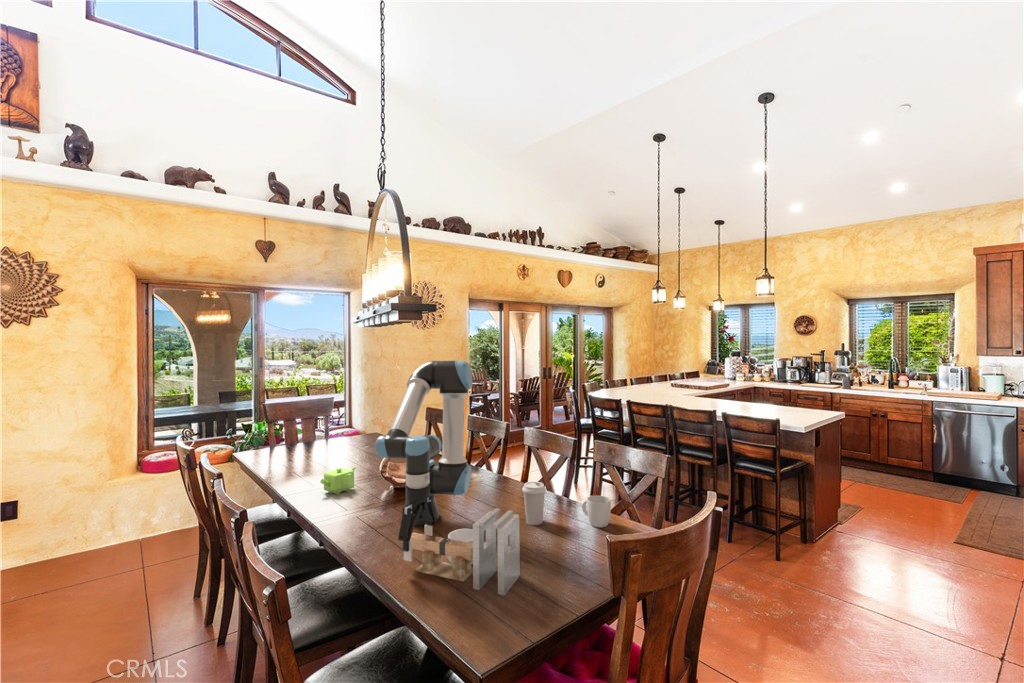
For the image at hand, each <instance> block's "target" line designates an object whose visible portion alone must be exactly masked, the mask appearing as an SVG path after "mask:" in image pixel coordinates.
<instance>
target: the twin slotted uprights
mask: <svg viewBox="0 0 1024 683" xmlns="http://www.w3.org/2000/svg"><path fill="white" fill-rule="evenodd" d="M500 513H501V508H498V507H495V508H494V509H493V510H489V511H488V512H486V513H485V514H484V515H483V516H482V517H480V518H479V519H478V520H476V521H475V522H474V523H473V524H472V529H473V564H472V568H473V573H472V585H473V586H472V588H473V589H472V590H478V591H480V590H481V589H482V588H483V587H484V586H485V584H487V582H488V581H489V580H490V579H491V577H493V576H494V574H495V573H496V572H497V595H500V596H506V594H507V593H508V592H509V590H510V589H511V588H512V586H513V585H514V584H515V583H516V581H517V580H518V579H519V577H520V575H521V573H520V572H521V566H520V565H521V564H520V562H521V561H520V556H521V555H520V548H521V547H520V546H521V545H520V544H521V543H520V514H516V513H514V510H512V509H511V510H509V509H508V510H507V511H506V512H505V513H504V514H502V516H501V517H499V518H498V519H497V515H499V514H500ZM484 533H485V534H484ZM484 535H485V536H484ZM484 538H485V539H484ZM484 540H485V541H484Z"/></svg>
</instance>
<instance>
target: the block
mask: <svg viewBox="0 0 1024 683" xmlns="http://www.w3.org/2000/svg"><path fill="white" fill-rule="evenodd" d="M407 537H408V536H407ZM410 540H412V550H417V551H421V552H424V551H426V552H431V553H436V554H439V555H441V556H446V557H449V556H451V557H456V558H461V559H466V560H472V559H473V543H469V542H463V541H458V540H452V539H449V538H448V537H441V536H435V535H433V536H430V535H425V534H424V533H418V532H412V535H411V539H410Z"/></svg>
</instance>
